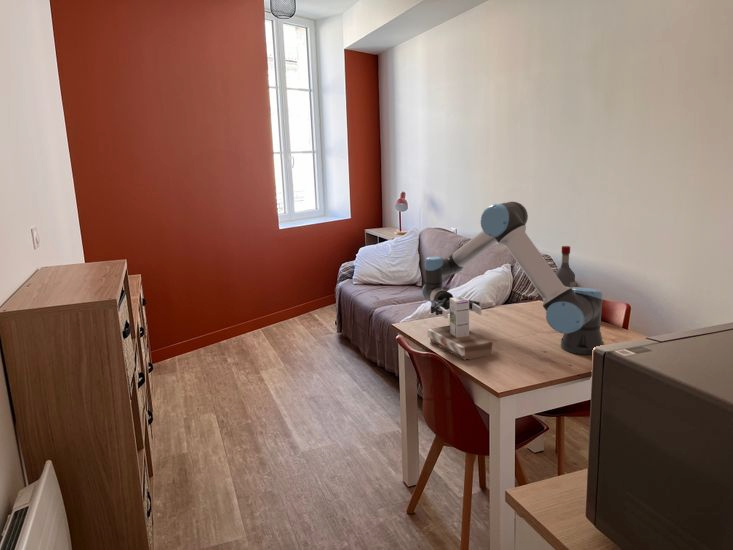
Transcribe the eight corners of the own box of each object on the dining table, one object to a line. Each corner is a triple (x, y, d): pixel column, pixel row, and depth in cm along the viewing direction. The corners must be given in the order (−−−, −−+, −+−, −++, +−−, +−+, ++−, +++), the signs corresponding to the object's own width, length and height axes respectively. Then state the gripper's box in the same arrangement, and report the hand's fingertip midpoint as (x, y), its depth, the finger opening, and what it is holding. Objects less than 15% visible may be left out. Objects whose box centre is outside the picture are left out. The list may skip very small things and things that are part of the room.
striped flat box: (491, 354, 196) (492, 342, 195) (461, 361, 191) (461, 348, 190) (455, 336, 217) (455, 324, 216) (427, 341, 212) (426, 329, 211)
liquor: (573, 307, 253) (576, 245, 246) (572, 312, 244) (576, 248, 238) (553, 306, 256) (556, 244, 250) (551, 311, 248) (554, 247, 241)
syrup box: (469, 336, 202) (470, 299, 198) (455, 338, 200) (455, 301, 197) (462, 331, 207) (463, 295, 204) (448, 333, 205) (449, 297, 202)
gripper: (470, 305, 222) (494, 319, 202) (413, 310, 216) (432, 325, 196) (470, 287, 220) (494, 300, 200) (413, 292, 215) (432, 306, 194)
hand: (463, 313), depth 198 cm, fingers open, 13 cm apart
